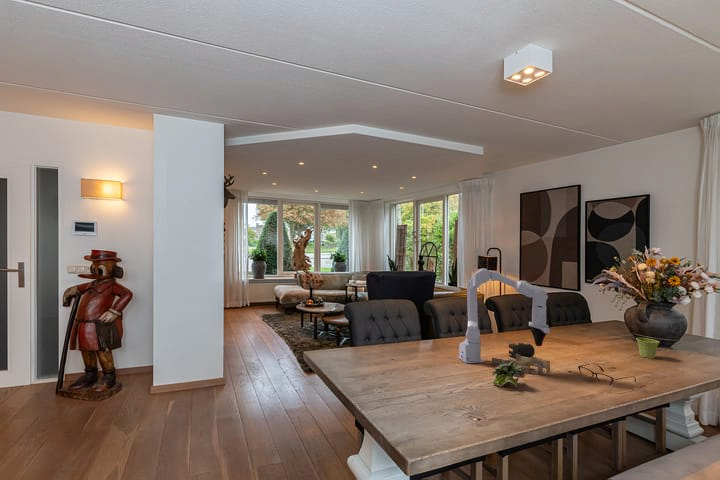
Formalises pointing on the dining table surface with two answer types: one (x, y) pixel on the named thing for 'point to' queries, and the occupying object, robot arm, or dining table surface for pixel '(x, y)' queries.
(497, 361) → the stool base
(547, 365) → the hinged leg
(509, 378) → the leafy green plant
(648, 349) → the plant pot
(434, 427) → the dining table surface
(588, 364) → the eyeglasses
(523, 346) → the end cap
